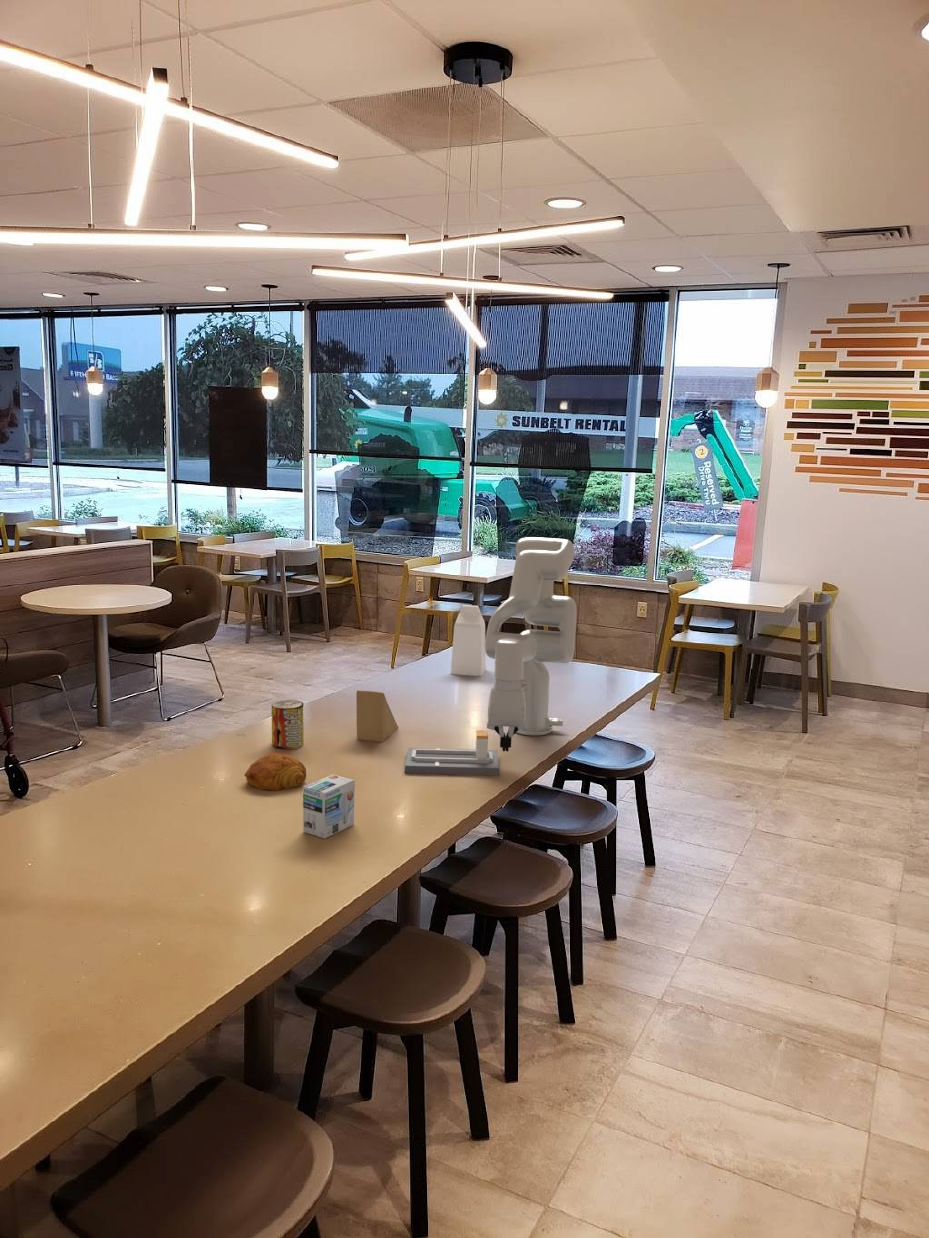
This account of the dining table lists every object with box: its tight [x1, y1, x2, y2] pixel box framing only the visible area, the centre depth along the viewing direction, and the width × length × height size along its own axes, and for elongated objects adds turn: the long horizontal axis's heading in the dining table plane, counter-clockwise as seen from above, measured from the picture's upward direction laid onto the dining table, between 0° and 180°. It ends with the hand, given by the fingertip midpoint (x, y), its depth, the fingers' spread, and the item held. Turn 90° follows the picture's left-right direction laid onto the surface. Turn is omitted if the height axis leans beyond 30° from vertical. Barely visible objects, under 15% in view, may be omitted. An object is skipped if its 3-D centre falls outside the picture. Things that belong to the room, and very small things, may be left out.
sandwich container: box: [355, 690, 399, 742], centre depth 280 cm, size 9×15×15 cm, turn 166°
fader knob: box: [475, 729, 489, 759], centre depth 254 cm, size 3×5×7 cm, turn 0°
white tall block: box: [450, 604, 487, 677], centre depth 360 cm, size 12×12×26 cm
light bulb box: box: [302, 773, 356, 840], centre depth 210 cm, size 11×7×11 cm, turn 148°
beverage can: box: [271, 699, 305, 750], centre depth 267 cm, size 9×9×12 cm
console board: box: [404, 747, 500, 776], centre depth 255 cm, size 25×15×3 cm, turn 90°
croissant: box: [243, 751, 307, 792], centre depth 238 cm, size 14×16×8 cm
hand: (505, 749), depth 254 cm, fingers closed
